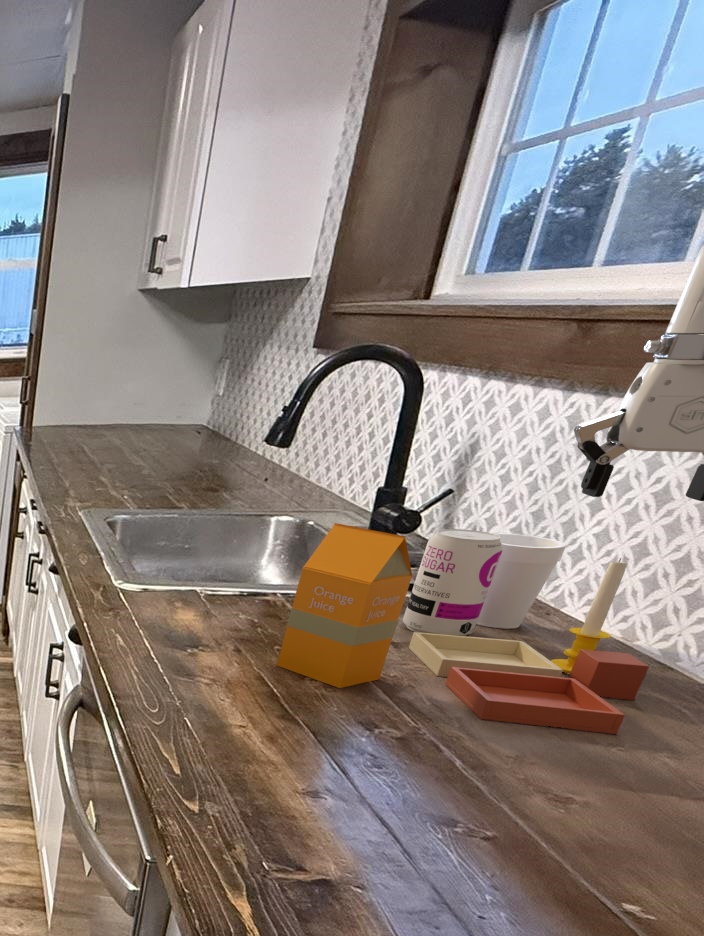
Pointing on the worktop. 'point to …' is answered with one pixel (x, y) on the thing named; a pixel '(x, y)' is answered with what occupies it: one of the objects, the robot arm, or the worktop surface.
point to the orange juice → (347, 606)
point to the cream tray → (479, 655)
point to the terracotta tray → (533, 700)
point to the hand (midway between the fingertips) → (642, 497)
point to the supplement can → (453, 582)
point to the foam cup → (518, 578)
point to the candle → (594, 617)
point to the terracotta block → (609, 673)
